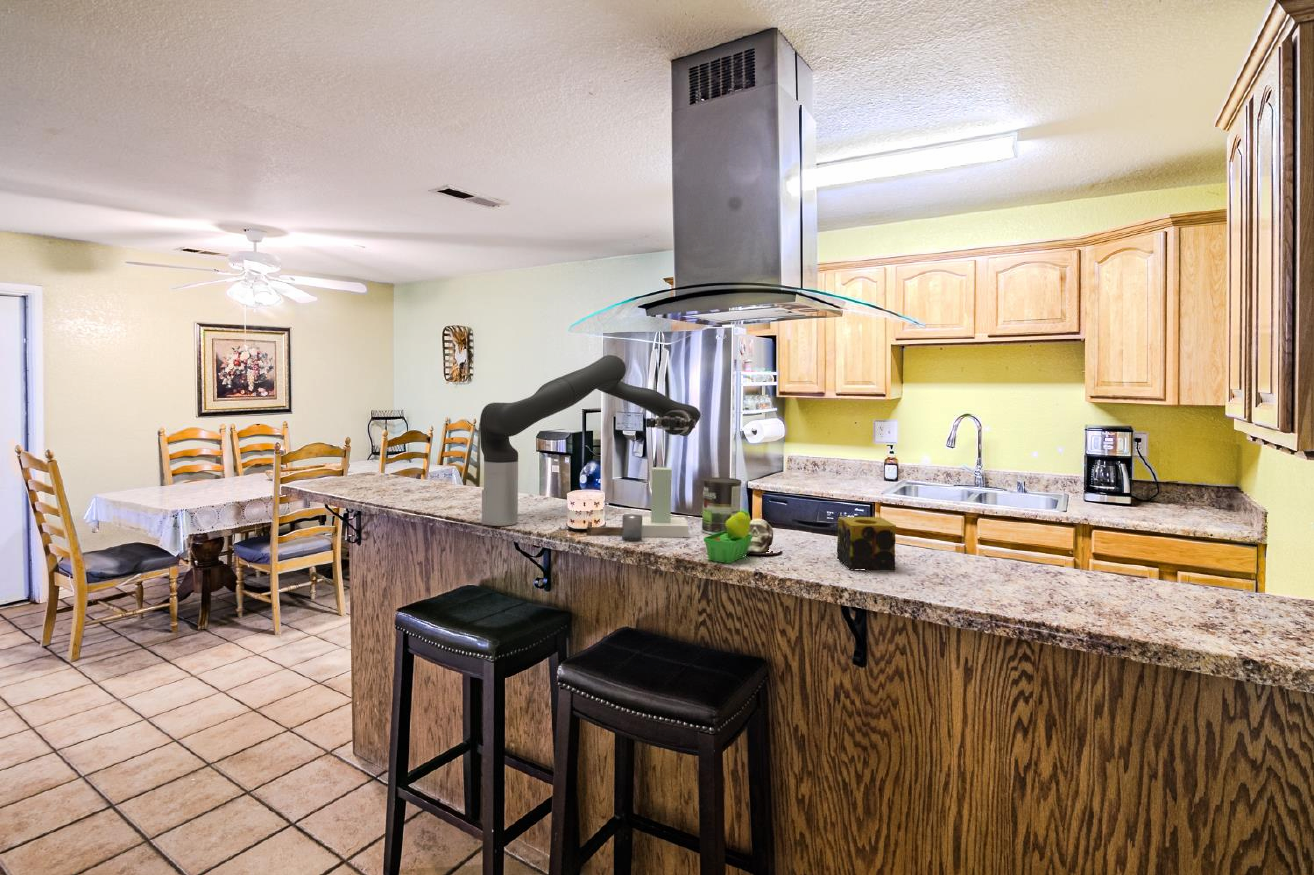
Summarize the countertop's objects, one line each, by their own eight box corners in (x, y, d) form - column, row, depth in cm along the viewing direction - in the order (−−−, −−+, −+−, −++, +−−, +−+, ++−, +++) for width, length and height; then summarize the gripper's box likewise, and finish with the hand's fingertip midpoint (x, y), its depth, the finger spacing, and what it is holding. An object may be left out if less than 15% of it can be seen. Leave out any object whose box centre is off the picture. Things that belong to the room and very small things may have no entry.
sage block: (651, 522, 180) (652, 469, 179) (651, 519, 185) (653, 467, 184) (670, 523, 179) (671, 469, 178) (670, 519, 184) (671, 467, 183)
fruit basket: (723, 551, 162) (724, 503, 161) (758, 556, 157) (760, 507, 157) (701, 560, 152) (702, 510, 151) (738, 566, 148) (739, 514, 147)
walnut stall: (586, 535, 177) (586, 527, 176) (588, 527, 187) (589, 519, 187) (629, 535, 177) (629, 527, 177) (629, 527, 188) (629, 520, 187)
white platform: (637, 536, 176) (637, 525, 175) (636, 527, 188) (637, 516, 187) (688, 537, 176) (688, 525, 176) (684, 528, 188) (684, 517, 188)
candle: (879, 560, 156) (881, 516, 156) (896, 571, 146) (898, 525, 146) (835, 559, 156) (837, 516, 155) (849, 571, 146) (850, 524, 145)
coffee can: (713, 536, 178) (715, 482, 177) (694, 529, 187) (696, 478, 186) (747, 534, 182) (749, 481, 181) (727, 527, 192) (728, 476, 191)
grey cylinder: (622, 541, 170) (623, 517, 169) (621, 537, 175) (621, 513, 174) (642, 541, 170) (643, 517, 170) (640, 537, 175) (641, 514, 175)
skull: (778, 555, 154) (749, 519, 156) (745, 581, 158) (717, 545, 160) (792, 543, 165) (765, 510, 167) (761, 568, 169) (735, 534, 171)
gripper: (654, 409, 213) (642, 410, 198) (699, 410, 210) (691, 411, 195) (653, 433, 214) (641, 436, 198) (699, 435, 211) (690, 438, 195)
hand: (666, 424), depth 196 cm, fingers open, 8 cm apart
